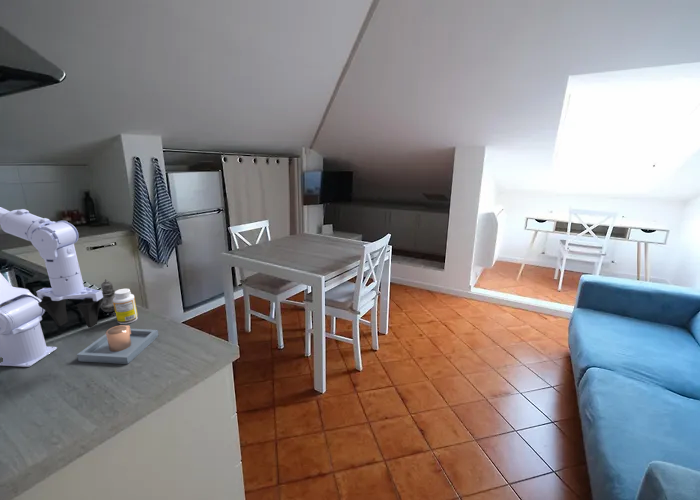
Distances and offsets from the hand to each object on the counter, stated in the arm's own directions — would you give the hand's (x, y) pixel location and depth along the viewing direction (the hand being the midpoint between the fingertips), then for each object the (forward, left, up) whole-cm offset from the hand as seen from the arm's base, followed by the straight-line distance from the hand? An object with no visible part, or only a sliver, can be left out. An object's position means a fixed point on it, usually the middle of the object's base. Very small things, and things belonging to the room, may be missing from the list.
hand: (77, 324), depth 81 cm
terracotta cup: (+5, +6, -10) cm, 12 cm away
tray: (+5, +6, -10) cm, 13 cm away
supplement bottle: (-3, +20, -11) cm, 23 cm away
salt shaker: (-11, +24, -11) cm, 29 cm away
